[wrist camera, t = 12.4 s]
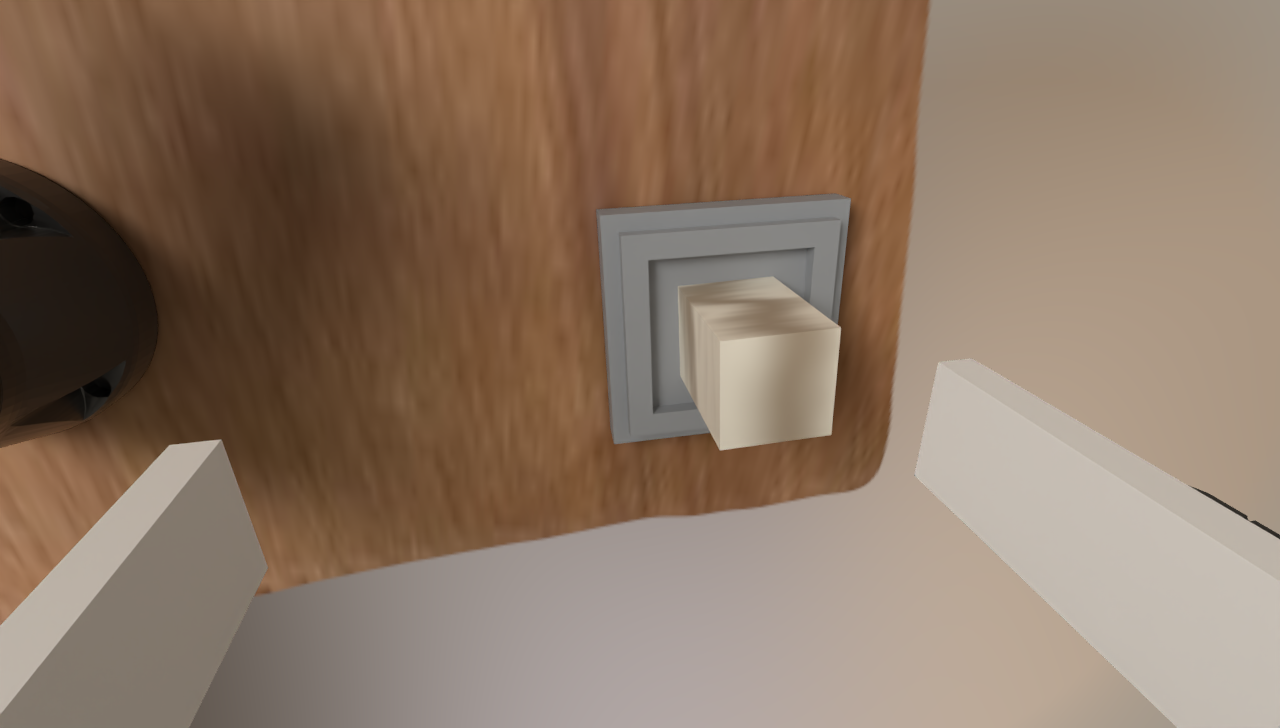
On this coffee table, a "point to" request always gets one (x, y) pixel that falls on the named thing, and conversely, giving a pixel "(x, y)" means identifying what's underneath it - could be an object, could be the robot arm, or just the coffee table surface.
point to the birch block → (757, 361)
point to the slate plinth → (696, 254)
